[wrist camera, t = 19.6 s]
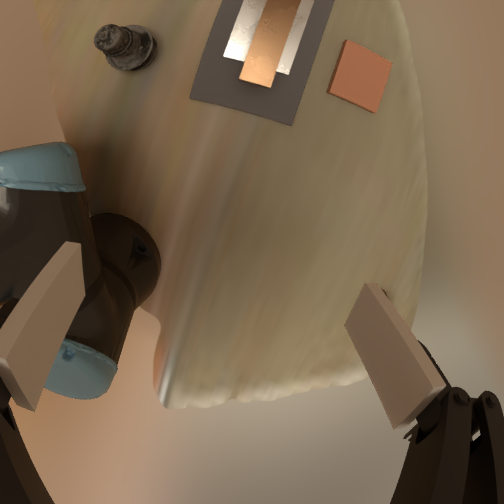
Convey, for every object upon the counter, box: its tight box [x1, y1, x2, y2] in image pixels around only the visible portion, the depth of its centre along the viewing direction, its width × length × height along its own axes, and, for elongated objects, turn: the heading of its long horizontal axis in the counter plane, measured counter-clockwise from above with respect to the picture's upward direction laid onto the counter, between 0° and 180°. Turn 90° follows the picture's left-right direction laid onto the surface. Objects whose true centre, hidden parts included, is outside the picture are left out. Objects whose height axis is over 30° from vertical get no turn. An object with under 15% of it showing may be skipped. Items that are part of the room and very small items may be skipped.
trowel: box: [223, 0, 315, 89], centre depth 24 cm, size 15×8×9 cm, turn 163°
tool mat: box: [190, 0, 334, 126], centre depth 28 cm, size 13×22×1 cm, turn 163°
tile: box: [327, 40, 393, 113], centre depth 32 cm, size 7×2×8 cm
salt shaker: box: [94, 24, 157, 70], centre depth 23 cm, size 6×6×12 cm
